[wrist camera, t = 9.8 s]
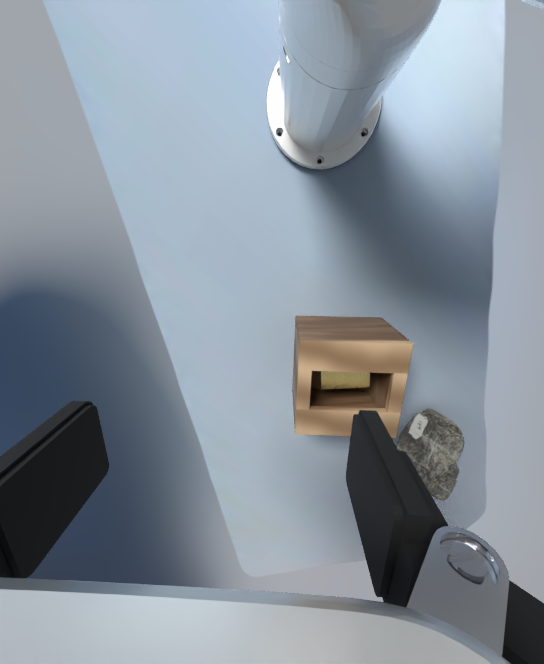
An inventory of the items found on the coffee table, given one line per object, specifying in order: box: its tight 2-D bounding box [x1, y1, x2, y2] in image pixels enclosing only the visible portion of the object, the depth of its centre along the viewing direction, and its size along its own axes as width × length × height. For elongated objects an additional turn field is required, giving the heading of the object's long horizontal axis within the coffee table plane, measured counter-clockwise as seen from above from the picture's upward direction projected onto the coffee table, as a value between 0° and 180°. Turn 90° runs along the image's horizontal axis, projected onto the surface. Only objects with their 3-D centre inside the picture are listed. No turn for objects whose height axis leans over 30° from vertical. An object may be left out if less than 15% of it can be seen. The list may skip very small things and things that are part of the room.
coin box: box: [293, 316, 413, 438], centre depth 37 cm, size 12×12×10 cm
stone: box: [397, 409, 464, 501], centre depth 43 cm, size 14×7×10 cm, turn 1°
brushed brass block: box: [317, 371, 370, 389], centre depth 38 cm, size 3×6×6 cm, turn 94°
